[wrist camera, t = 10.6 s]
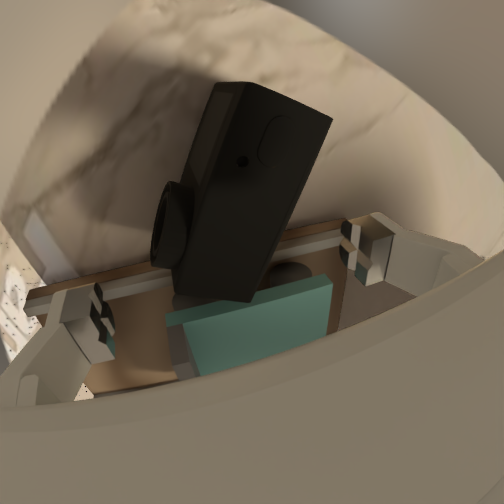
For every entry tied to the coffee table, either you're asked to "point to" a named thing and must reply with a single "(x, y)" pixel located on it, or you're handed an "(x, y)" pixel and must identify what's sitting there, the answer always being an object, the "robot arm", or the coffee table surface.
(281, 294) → the grey-edged teal panel
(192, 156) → the digital camera
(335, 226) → the cart track
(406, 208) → the coffee table surface
